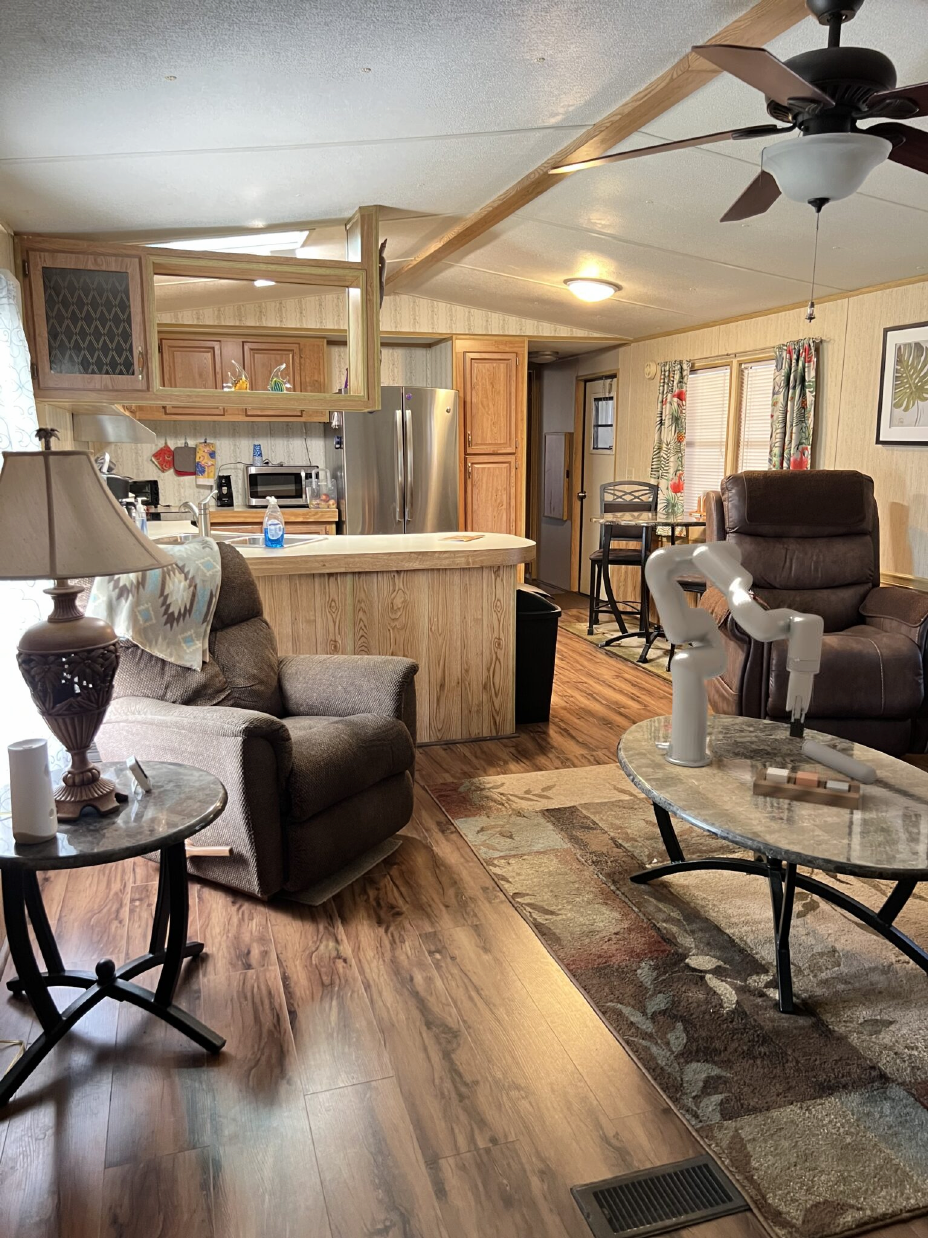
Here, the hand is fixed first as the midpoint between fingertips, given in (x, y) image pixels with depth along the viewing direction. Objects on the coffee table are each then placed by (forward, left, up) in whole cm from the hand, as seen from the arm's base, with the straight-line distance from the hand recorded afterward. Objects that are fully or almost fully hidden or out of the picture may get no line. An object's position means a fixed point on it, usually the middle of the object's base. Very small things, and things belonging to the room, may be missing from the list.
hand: (796, 736), depth 221 cm
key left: (-4, 0, -13) cm, 13 cm away
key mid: (+3, 0, -12) cm, 13 cm away
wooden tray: (+3, 0, -14) cm, 15 cm away
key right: (+10, 0, -14) cm, 17 cm away
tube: (+10, +23, -15) cm, 29 cm away
